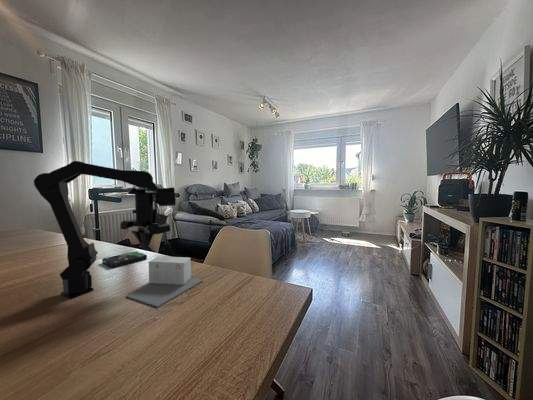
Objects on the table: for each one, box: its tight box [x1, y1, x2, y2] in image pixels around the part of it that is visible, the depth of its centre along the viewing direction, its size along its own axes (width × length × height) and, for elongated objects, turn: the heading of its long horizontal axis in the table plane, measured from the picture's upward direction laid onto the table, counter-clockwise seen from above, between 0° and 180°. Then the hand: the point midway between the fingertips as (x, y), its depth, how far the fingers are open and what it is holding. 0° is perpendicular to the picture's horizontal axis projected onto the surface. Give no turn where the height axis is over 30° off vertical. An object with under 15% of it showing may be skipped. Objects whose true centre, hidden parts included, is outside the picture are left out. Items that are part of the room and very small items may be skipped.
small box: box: [148, 255, 192, 285], centre depth 85 cm, size 8×6×13 cm
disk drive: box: [101, 251, 148, 270], centre depth 105 cm, size 10×3×15 cm
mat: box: [125, 277, 204, 309], centre depth 80 cm, size 20×14×1 cm
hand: (145, 249), depth 83 cm, fingers closed
